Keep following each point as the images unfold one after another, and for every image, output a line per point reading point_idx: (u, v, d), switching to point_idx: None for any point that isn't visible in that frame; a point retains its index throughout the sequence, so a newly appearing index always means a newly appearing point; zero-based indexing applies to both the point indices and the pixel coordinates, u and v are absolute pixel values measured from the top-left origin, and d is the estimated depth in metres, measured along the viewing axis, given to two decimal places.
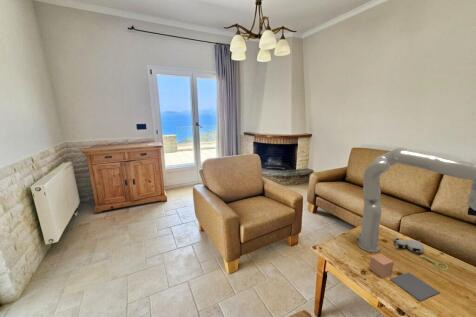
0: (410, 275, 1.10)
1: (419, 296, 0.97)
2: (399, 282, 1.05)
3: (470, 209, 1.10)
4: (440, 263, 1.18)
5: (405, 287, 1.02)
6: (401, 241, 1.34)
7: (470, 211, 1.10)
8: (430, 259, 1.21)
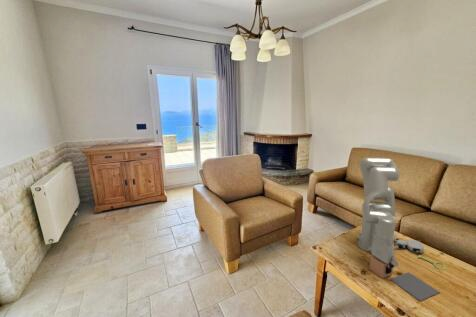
0: (410, 275, 1.10)
1: (419, 296, 0.97)
2: (399, 282, 1.05)
3: None
4: (437, 262, 1.19)
5: (405, 287, 1.02)
6: (401, 241, 1.34)
7: None
8: (428, 259, 1.21)
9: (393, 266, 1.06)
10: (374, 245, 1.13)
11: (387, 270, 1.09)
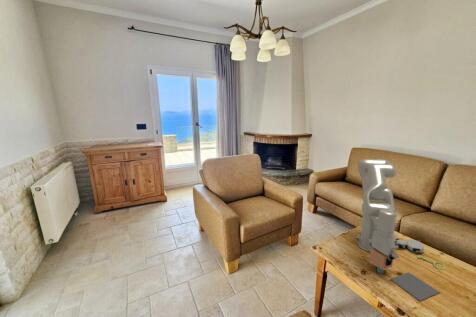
0: (410, 275, 1.10)
1: (419, 296, 0.97)
2: (399, 282, 1.05)
3: None
4: (437, 262, 1.19)
5: (405, 287, 1.02)
6: (401, 241, 1.34)
7: None
8: (427, 259, 1.21)
9: (393, 258, 1.06)
10: (374, 237, 1.13)
11: (387, 262, 1.09)
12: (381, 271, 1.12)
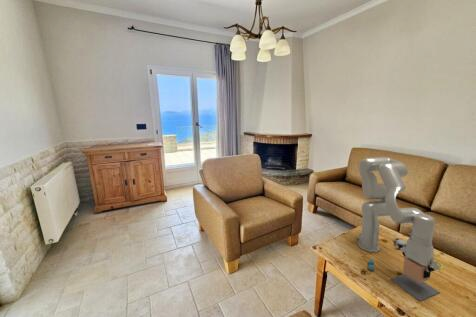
0: None
1: (419, 296, 0.97)
2: (399, 282, 1.05)
3: None
4: None
5: (405, 287, 1.02)
6: (401, 241, 1.34)
7: None
8: None
9: (433, 269, 0.94)
10: (409, 246, 1.02)
11: (425, 274, 0.97)
12: (369, 268, 1.15)
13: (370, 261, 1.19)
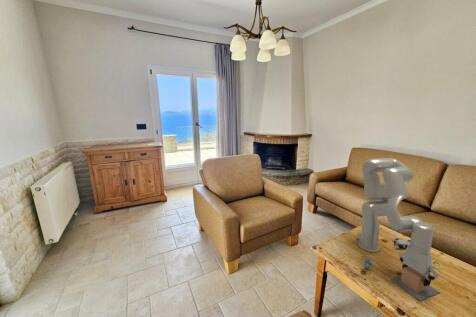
0: None
1: (419, 296, 0.97)
2: (399, 282, 1.05)
3: (404, 266, 1.06)
4: (433, 262, 1.19)
5: (405, 287, 1.02)
6: (401, 241, 1.34)
7: None
8: None
9: (433, 278, 0.94)
10: (407, 254, 1.02)
11: (426, 282, 0.97)
12: (366, 268, 1.16)
13: (365, 259, 1.21)
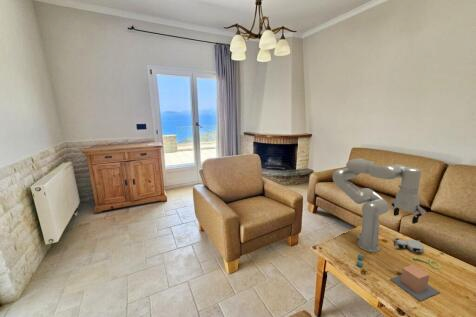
0: None
1: (419, 296, 0.97)
2: (399, 282, 1.05)
3: (396, 210, 1.18)
4: (431, 261, 1.20)
5: (405, 287, 1.02)
6: (401, 241, 1.34)
7: (396, 212, 1.18)
8: None
9: (421, 214, 1.06)
10: (398, 197, 1.14)
11: (414, 220, 1.09)
12: (360, 264, 1.17)
13: (361, 259, 1.23)
